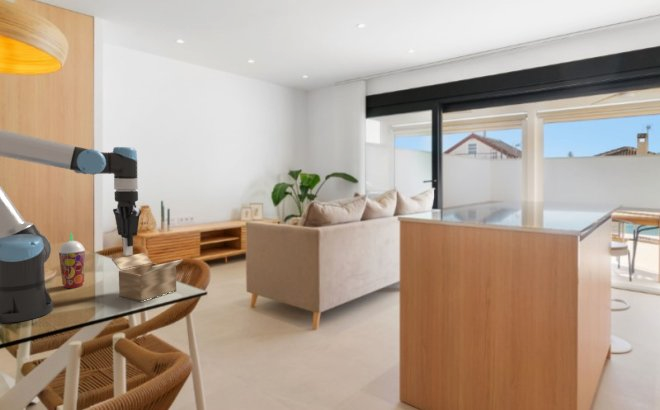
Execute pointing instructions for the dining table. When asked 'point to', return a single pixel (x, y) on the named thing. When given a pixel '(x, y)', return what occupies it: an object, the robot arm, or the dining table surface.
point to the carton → (146, 282)
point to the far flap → (131, 261)
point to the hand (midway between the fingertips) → (128, 254)
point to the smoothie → (72, 263)
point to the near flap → (163, 267)
